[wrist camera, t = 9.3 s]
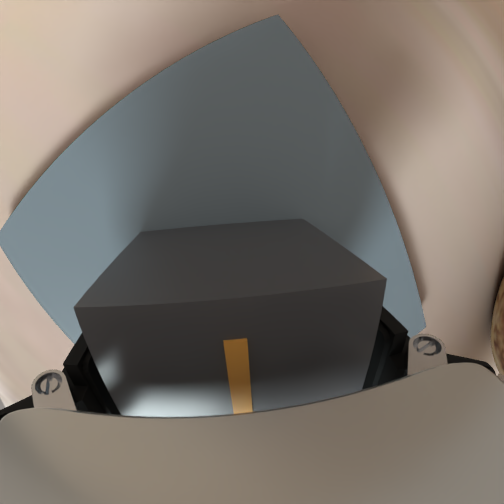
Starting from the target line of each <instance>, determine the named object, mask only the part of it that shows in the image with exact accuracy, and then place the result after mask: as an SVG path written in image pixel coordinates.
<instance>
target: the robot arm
mask: <svg viewBox="0 0 504 504" xmlns="http://www.w3.org/2000/svg"><path fill="white" fill-rule="evenodd" d="M407 334H408V330H407V329H406V328H405V327H404V326H403V325H402V324H401V323H400V322H399V321H398V320H397V319H396V318H395V317H394V316H393V315H392V314H391V313H390V312H389V311H388V310H387V309H385V308H384V307H383V306H382V311H381V316H380V321H379V326H378V330H377V335H376V339H375V343H374V347H373V351H372V355H371V359H370V363H369V367H368V370H367V374H366V377H365V381H364V384H363V387H362V390H360V391H356V392H353V393H349V394H345V395H341V396H337V397H333V398H329V399H324V400H320V401H315V402H310V403H305V404H300V405H295V406H289V407H283V408H277V409H270V410H263V411H255V412H247V413H237V414H226V415H212V416H190V417H149V416H128V415H121V413H120V412H119V410H118V408H117V406H116V404H115V403H114V401H113V399H112V397H111V395H110V393H109V391H108V389H107V387H106V385H105V383H104V381H103V379H102V377H101V375H100V373H99V371H98V369H97V366H96V364H95V362H94V360H93V357H92V355H91V353H90V350H89V348H88V346H87V343H86V341H85V338H84V336H83V333H81V335H80V337H79V338H78V340H77V341H76V343H75V345H74V346H73V348H72V350H71V351H70V353H69V355H68V356H67V358H66V360H65V361H64V363H63V365H64V369H63V371H62V372H61V371H59V370H47V371H45V372H42V373H41V374H39V375H38V376H37V377H36V378H35V379H34V380H33V383H32V387H31V390H32V395H31V396H29V397H27V398H25V399H23V400H21V401H19V402H17V403H15V404H12V405H10V406H8V407H6V408H4V409H2V410H0V504H504V375H502V374H498V376H496V374H495V371H494V369H493V368H492V367H491V366H490V365H489V364H488V363H486V362H484V361H479V360H474V359H469V358H464V357H459V356H454V355H450V354H446V348H445V345H444V343H443V342H442V341H441V340H440V339H439V338H437V337H435V336H433V335H429V334H417V335H415V336H413V337H412V338H410V337H409V336H408V335H407Z"/></svg>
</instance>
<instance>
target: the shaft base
mask: <svg viewBox="0 0 504 504" xmlns="http://www.w3.org/2000/svg"><path fill="white" fill-rule="evenodd" d="M289 219H304V220H306V221H307V222H309V223H310V224H312V225H313V226H315V227H316V228H318V229H319V230H320V231H322V232H323V233H325V234H326V235H328V236H329V237H331V238H332V239H333V240H335V241H336V242H338V243H339V244H340V245H342V246H343V247H345V248H346V249H347V250H349V251H350V252H352V253H353V254H354V255H356V256H357V257H359V258H360V259H361V260H363V261H364V262H365V263H367V264H368V265H369V266H371V267H372V268H373V269H375V270H376V271H377V272H379V273H380V274H381V275H383V276H384V277H385V278H387V282H386V288H385V294H384V300H383V307H384V308H385V309H387V310H388V311H389V312H390V313H391V314H392V315H393V316H394V317H395V318H396V319H397V320H398V321H399V322H400V323H401V324H402V325H403V326H404V327H405V328H406V329H407V330H408V334H407V335H408V336H409V337H410V338H412V337H413V336H415V335H417V334H418V333H419V332H420V331H422V330H423V329H424V328H425V327H426V323H425V318H424V314H423V309H422V305H421V301H420V297H419V293H418V289H417V285H416V281H415V278H414V274H413V271H412V267H411V264H410V261H409V257H408V254H407V251H406V248H405V245H404V242H403V239H402V236H401V233H400V230H399V227H398V225H397V222H396V219H395V217H394V214H393V211H392V209H391V206H390V204H389V201H388V199H387V196H386V194H385V191H384V189H383V187H382V184H381V182H380V180H379V177H378V175H377V173H376V171H375V169H374V166H373V164H372V162H371V160H370V158H369V156H368V154H367V152H366V150H365V148H364V146H363V144H362V142H361V140H360V138H359V136H358V134H357V132H356V130H355V128H354V126H353V124H352V123H351V121H350V119H349V117H348V115H347V114H346V112H345V110H344V108H343V107H342V105H341V103H340V102H339V100H338V98H337V97H336V95H335V93H334V92H333V90H332V88H331V87H330V85H329V84H328V82H327V80H326V79H325V77H324V76H323V74H322V73H321V71H320V70H319V68H318V67H317V65H316V64H315V62H314V61H313V60H312V58H311V57H310V55H309V54H308V52H307V51H306V50H305V48H304V47H303V46H302V44H301V43H300V42H299V40H298V39H297V38H296V36H295V35H294V34H293V32H292V31H291V30H290V29H289V27H288V26H287V25H286V24H285V22H284V21H283V20H282V19H281V18H280V16H279V15H275V16H272V17H270V18H267V19H264V20H261V21H259V22H256V23H254V24H251V25H249V26H247V27H244V28H242V29H240V30H237V31H235V32H233V33H231V34H228V35H226V36H224V37H222V38H220V39H218V40H216V41H214V42H212V43H210V44H208V45H206V46H204V47H202V48H200V49H199V50H197V51H195V52H193V53H191V54H190V55H188V56H186V57H184V58H183V59H181V60H179V61H178V62H176V63H174V64H173V65H171V66H169V67H168V68H166V69H165V70H163V71H161V72H160V73H158V74H157V75H155V76H154V77H152V78H151V79H149V80H148V81H146V82H145V83H144V84H142V85H141V86H139V87H138V88H137V89H135V90H134V91H133V92H131V93H130V94H128V95H127V96H126V97H125V98H123V99H122V100H121V101H119V102H118V103H117V104H116V105H114V106H113V107H112V108H111V109H109V110H108V111H107V112H106V113H105V114H103V115H102V116H101V117H100V118H99V119H98V120H96V121H95V122H94V123H93V124H92V125H91V126H90V127H89V128H87V129H86V130H85V131H84V132H83V133H82V134H81V135H80V136H79V137H78V138H77V139H76V140H75V141H74V142H73V143H72V144H71V145H70V146H69V147H68V148H67V149H66V150H65V151H64V152H63V153H62V154H61V155H60V156H59V157H58V158H57V159H56V160H55V161H54V162H53V163H52V164H51V166H50V167H49V168H48V169H47V170H46V171H45V172H44V173H43V175H42V176H41V177H40V178H39V179H38V180H37V182H36V183H35V184H34V185H33V187H32V188H31V189H30V190H29V192H28V193H27V194H26V195H25V197H24V198H23V199H22V201H21V202H20V203H19V205H18V206H17V207H16V209H15V210H14V211H13V213H12V214H11V216H10V217H9V218H8V220H7V221H6V223H5V224H4V226H3V227H2V229H1V230H0V246H1V248H2V249H3V251H4V253H5V254H6V256H7V258H8V259H9V261H10V262H11V264H12V266H13V267H14V269H15V270H16V272H17V273H18V275H19V276H20V278H21V279H22V280H23V282H24V283H25V285H26V286H27V287H28V289H29V290H30V292H31V293H32V294H33V296H34V297H35V298H36V300H37V301H38V302H39V303H40V305H41V306H42V307H43V308H44V310H45V311H46V312H47V313H48V315H49V316H50V317H51V318H52V319H53V321H54V322H55V323H56V324H57V325H58V326H59V328H60V329H61V330H62V331H63V332H64V333H65V334H66V335H67V337H68V338H69V339H70V340H71V341H72V342H73V343H74V344H75V343H76V341H77V340H78V338H79V337H80V335H81V333H82V330H81V328H80V325H79V322H78V320H77V317H76V314H75V311H74V308H73V307H74V306H75V305H76V303H77V302H78V301H79V300H80V299H81V297H82V296H83V295H84V294H85V293H86V291H87V290H88V289H89V288H90V287H91V285H92V284H93V283H94V282H95V281H96V280H97V279H98V277H99V276H100V275H101V274H102V273H103V272H104V271H105V269H106V268H107V267H108V266H109V265H110V264H111V263H112V262H113V261H114V259H115V258H116V257H117V256H118V255H119V254H120V253H121V252H122V251H123V250H124V249H125V248H126V247H127V246H128V244H129V243H130V242H131V241H132V240H133V239H134V238H135V237H136V236H137V235H138V234H139V233H140V232H145V231H154V230H164V229H175V228H185V227H196V226H208V225H220V224H232V223H245V222H259V221H273V220H289Z"/></svg>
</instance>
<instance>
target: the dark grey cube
mask: <svg viewBox="0 0 504 504" xmlns="http://www.w3.org/2000/svg"><path fill="white" fill-rule="evenodd" d="M386 282H387V278H385V277H384V276H383V275H381V274H380V273H379V272H377V271H376V270H375V269H373V268H372V267H371V266H369V265H368V264H367V263H365V262H364V261H363V260H361V259H360V258H359V257H357V256H356V255H354V254H353V253H352V252H350V251H349V250H347V249H346V248H345V247H343V246H342V245H340V244H339V243H338V242H336V241H335V240H333V239H332V238H331V237H329V236H328V235H326V234H325V233H323V232H322V231H320V230H319V229H318V228H316V227H315V226H313V225H312V224H310V223H309V222H307V221H306V220H304V219H289V220H273V221H259V222H245V223H232V224H220V225H208V226H196V227H185V228H175V229H164V230H154V231H145V232H140V233H139V234H138V235H137V236H136V237H135V238H134V239H133V240H132V241H131V242H130V243H129V244H128V246H127V247H126V248H125V249H124V250H123V251H122V252H121V253H120V254H119V255H118V256H117V257H116V258H115V259H114V261H113V262H112V263H111V264H110V265H109V266H108V267H107V268H106V269H105V271H104V272H103V273H102V274H101V275H100V276H99V277H98V279H97V280H96V281H95V282H94V283H93V284H92V285H91V287H90V288H89V289H88V290H87V291H86V293H85V294H84V295H83V296H82V297H81V299H80V300H79V301H78V302H77V303H76V305H75V306H74V307H73V308H74V311H75V314H76V317H77V320H78V322H79V325H80V328H81V330H82V333H83V336H84V338H85V341H86V343H87V346H88V348H89V350H90V353H91V355H92V357H93V360H94V362H95V364H96V366H97V369H98V371H99V373H100V375H101V377H102V379H103V381H104V383H105V385H106V387H107V389H108V391H109V393H110V395H111V397H112V399H113V401H114V403H115V404H116V406H117V408H118V410H119V412H120V413H121V415H128V416H149V417H190V416H212V415H226V414H237V413H247V412H255V411H263V410H270V409H277V408H283V407H289V406H295V405H300V404H305V403H310V402H315V401H320V400H324V399H329V398H333V397H337V396H341V395H345V394H349V393H353V392H356V391H360V390H362V387H363V384H364V381H365V377H366V374H367V370H368V367H369V363H370V359H371V355H372V351H373V347H374V343H375V339H376V335H377V330H378V326H379V321H380V316H381V311H382V306H383V300H384V294H385V288H386Z"/></svg>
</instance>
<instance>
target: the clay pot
mask: <svg viewBox="0 0 504 504" xmlns="http://www.w3.org/2000/svg"><path fill="white" fill-rule="evenodd" d="M491 346H492V353H493V357H494V360H495V363H496V366H497V368H498V371H499V373H500V374H502V375H504V276H503V279H502V282H501V285H500V288H499V291H498V294H497V298H496V302H495V306H494V311H493V317H492V326H491Z"/></svg>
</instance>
